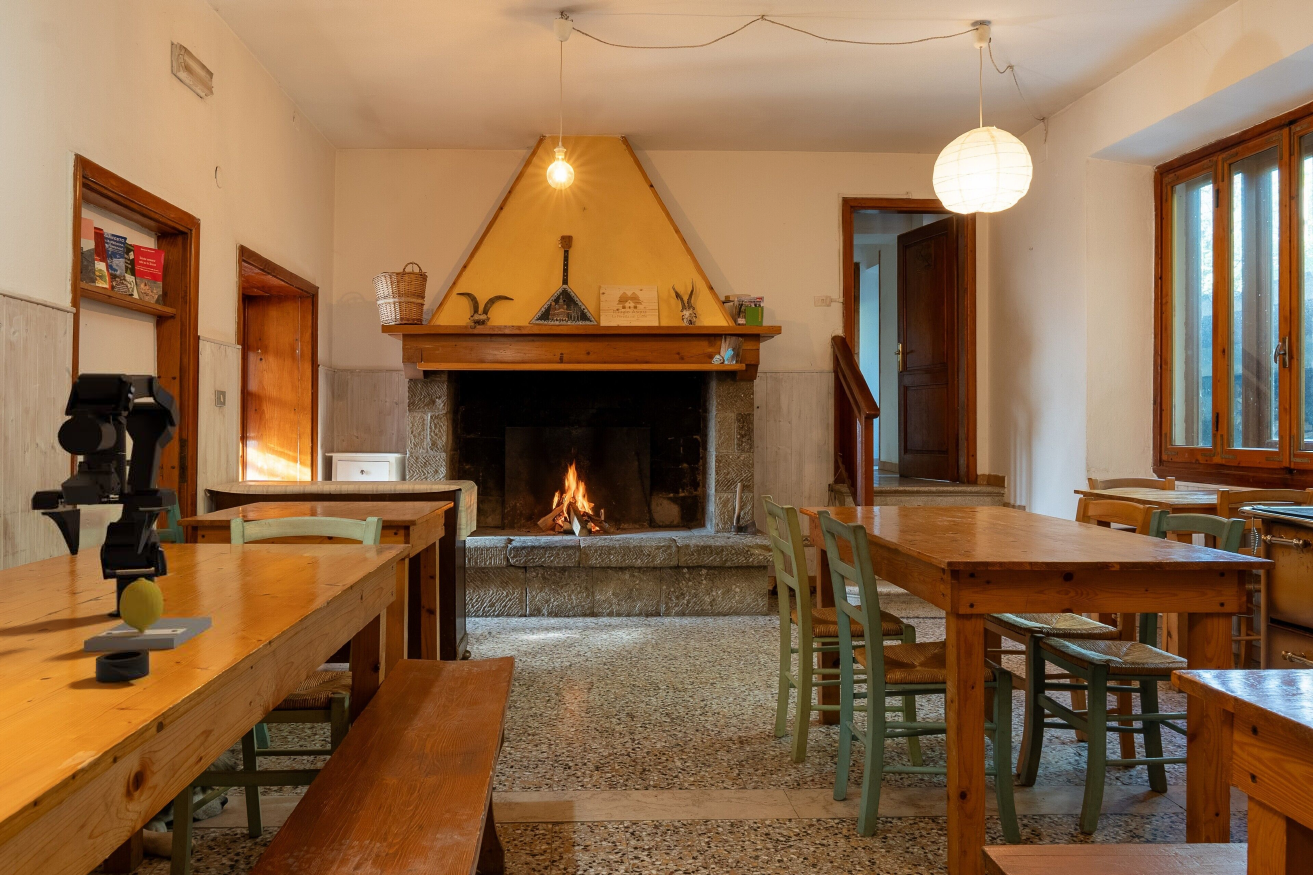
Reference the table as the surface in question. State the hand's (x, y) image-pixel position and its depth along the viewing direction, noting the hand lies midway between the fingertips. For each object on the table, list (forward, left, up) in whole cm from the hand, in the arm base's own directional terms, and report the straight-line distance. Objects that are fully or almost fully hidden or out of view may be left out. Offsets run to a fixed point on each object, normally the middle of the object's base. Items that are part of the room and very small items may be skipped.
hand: (106, 554), depth 135 cm
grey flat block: (+6, +9, -12) cm, 16 cm away
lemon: (+9, +9, -11) cm, 16 cm away
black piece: (+27, +14, -12) cm, 33 cm away
